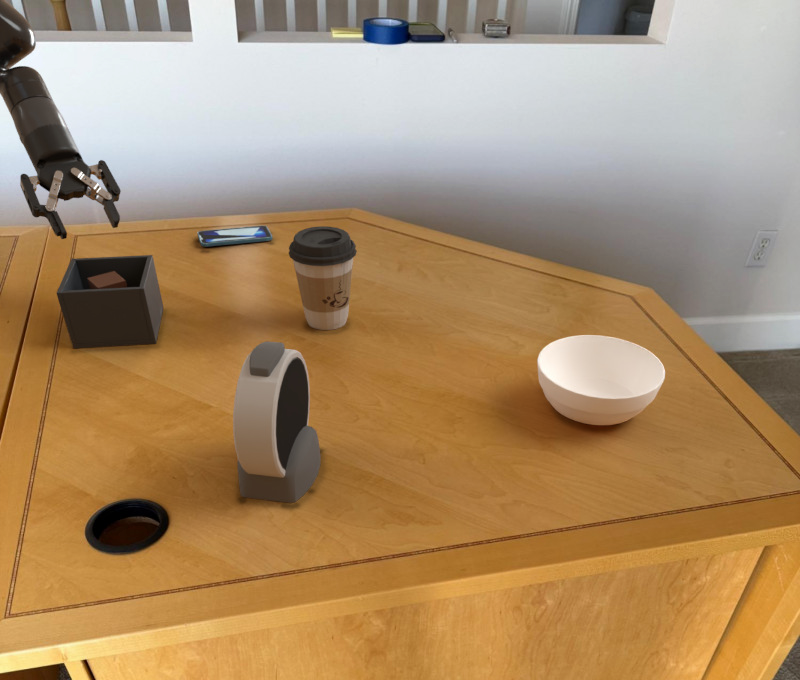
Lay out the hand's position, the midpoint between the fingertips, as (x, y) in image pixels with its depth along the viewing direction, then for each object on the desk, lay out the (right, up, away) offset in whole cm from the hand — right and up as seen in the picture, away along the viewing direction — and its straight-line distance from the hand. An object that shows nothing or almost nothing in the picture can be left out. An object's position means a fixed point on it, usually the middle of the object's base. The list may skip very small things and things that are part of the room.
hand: (90, 230), depth 125 cm
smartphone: (+15, +14, +40) cm, 45 cm away
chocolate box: (+1, -12, +9) cm, 16 cm away
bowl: (+79, -30, -8) cm, 85 cm away
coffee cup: (+37, -11, +12) cm, 41 cm away
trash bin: (+1, -13, +10) cm, 16 cm away
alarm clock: (+34, -41, -20) cm, 57 cm away
